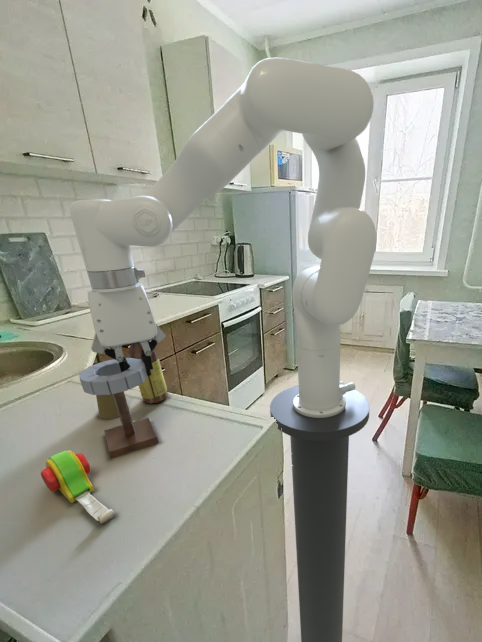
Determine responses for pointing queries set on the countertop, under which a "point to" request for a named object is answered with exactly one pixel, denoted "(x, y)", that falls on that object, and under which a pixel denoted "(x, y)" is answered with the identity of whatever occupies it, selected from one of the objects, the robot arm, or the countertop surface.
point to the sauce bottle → (151, 377)
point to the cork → (107, 406)
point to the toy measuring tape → (74, 482)
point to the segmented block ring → (112, 377)
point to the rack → (128, 431)
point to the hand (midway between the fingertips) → (138, 375)
